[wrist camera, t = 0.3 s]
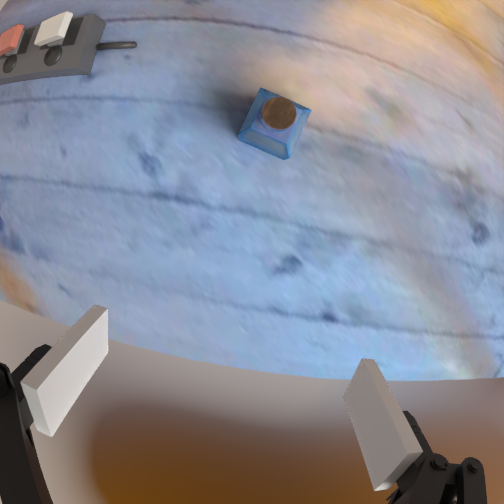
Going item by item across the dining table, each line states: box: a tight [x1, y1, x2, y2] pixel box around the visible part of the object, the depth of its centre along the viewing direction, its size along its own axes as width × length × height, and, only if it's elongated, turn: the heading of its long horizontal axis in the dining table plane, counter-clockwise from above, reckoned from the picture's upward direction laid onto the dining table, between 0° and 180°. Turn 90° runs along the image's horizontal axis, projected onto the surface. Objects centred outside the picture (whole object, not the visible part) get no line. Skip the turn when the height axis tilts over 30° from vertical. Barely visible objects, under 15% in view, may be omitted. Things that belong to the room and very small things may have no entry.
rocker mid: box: [0, 24, 24, 56], centre depth 26 cm, size 6×4×1 cm, turn 79°
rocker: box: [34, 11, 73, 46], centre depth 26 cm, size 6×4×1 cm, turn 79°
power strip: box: [0, 14, 137, 85], centre depth 30 cm, size 39×9×5 cm, turn 79°
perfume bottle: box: [238, 88, 311, 160], centre depth 31 cm, size 6×6×12 cm
